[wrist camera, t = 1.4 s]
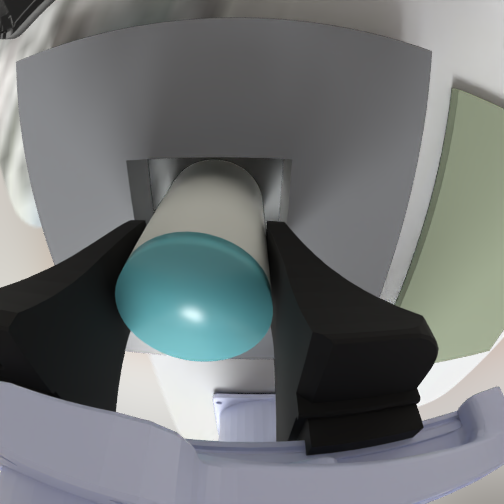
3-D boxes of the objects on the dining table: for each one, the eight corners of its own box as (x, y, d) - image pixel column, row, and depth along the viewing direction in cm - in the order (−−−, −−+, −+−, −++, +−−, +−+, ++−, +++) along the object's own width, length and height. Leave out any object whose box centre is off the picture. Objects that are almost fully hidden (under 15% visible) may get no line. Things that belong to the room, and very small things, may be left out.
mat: (486, 346, 22) (489, 350, 21) (366, 366, 21) (368, 372, 21) (572, 149, 11) (577, 152, 10) (452, 87, 10) (458, 89, 10)
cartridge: (260, 246, 15) (267, 362, 9) (173, 244, 15) (134, 355, 9) (264, 160, 13) (279, 245, 7) (165, 160, 13) (98, 243, 7)
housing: (346, 325, 18) (355, 355, 16) (102, 318, 18) (89, 346, 16) (402, 51, 10) (431, 51, 8) (48, 59, 9) (16, 61, 7)
